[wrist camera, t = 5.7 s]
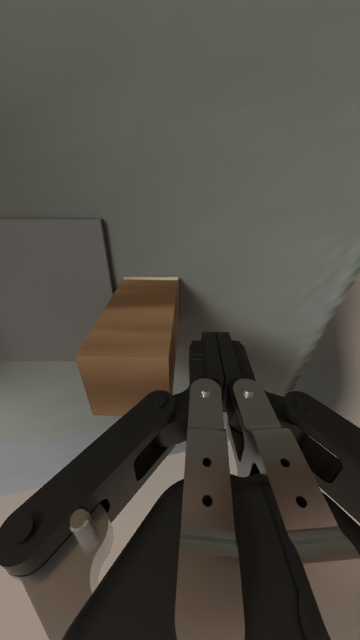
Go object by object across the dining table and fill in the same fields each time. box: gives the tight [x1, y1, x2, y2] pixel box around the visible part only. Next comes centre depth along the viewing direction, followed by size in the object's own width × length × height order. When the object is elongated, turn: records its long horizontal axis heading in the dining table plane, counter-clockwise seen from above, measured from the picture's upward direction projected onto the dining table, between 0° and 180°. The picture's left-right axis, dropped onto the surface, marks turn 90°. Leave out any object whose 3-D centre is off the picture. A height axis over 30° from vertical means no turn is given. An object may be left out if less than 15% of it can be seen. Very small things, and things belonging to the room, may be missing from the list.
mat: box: [0, 218, 114, 361], centre depth 19 cm, size 12×12×1 cm
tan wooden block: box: [75, 276, 178, 416], centre depth 15 cm, size 4×4×9 cm
